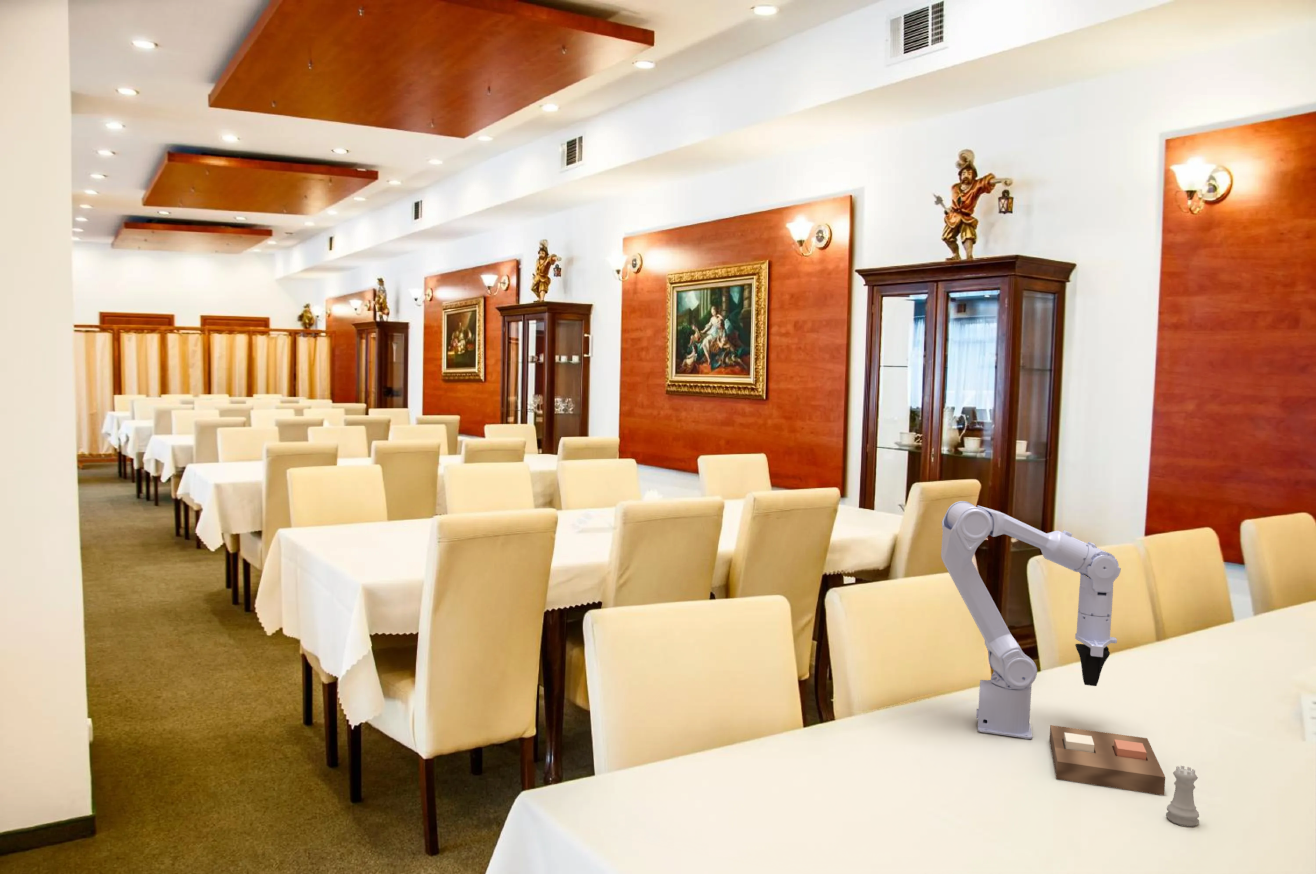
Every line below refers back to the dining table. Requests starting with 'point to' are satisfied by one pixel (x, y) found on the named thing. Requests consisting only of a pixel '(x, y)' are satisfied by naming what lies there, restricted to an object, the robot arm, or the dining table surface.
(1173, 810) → the rook chess piece
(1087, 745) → the ivory key
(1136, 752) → the terracotta key
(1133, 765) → the key panel
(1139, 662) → the dining table surface
